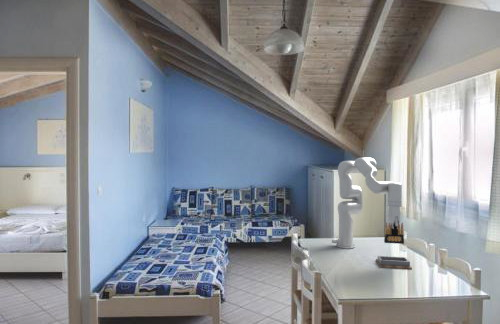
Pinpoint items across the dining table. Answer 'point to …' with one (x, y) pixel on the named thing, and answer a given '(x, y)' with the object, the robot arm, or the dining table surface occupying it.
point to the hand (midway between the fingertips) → (394, 235)
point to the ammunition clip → (395, 239)
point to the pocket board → (393, 262)
